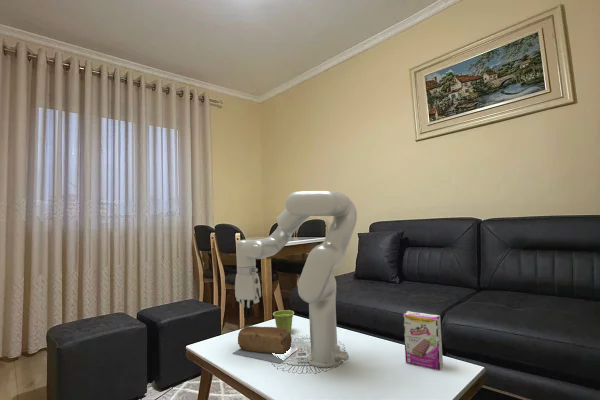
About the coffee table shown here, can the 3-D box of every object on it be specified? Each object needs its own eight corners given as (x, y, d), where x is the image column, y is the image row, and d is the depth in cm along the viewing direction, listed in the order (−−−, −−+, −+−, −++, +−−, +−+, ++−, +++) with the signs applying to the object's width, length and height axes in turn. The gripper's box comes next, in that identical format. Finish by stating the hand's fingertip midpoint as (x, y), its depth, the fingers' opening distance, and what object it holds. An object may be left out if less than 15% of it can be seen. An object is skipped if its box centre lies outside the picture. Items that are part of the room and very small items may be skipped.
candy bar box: (405, 363, 109) (402, 314, 110) (409, 358, 113) (406, 310, 114) (440, 371, 103) (437, 318, 104) (443, 365, 107) (440, 314, 108)
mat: (299, 348, 126) (299, 348, 126) (280, 363, 113) (280, 363, 113) (254, 340, 136) (254, 340, 136) (232, 353, 124) (232, 353, 124)
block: (236, 350, 125) (283, 357, 119) (236, 330, 126) (283, 335, 119) (249, 341, 136) (294, 346, 129) (249, 322, 136) (294, 327, 129)
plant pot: (272, 330, 148) (272, 311, 148) (293, 328, 150) (292, 309, 150) (274, 337, 139) (274, 317, 139) (296, 335, 140) (295, 314, 141)
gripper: (267, 269, 130) (269, 316, 129) (238, 268, 137) (239, 312, 136) (255, 272, 123) (257, 322, 122) (225, 271, 131) (227, 317, 130)
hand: (248, 316), depth 129 cm, fingers closed
